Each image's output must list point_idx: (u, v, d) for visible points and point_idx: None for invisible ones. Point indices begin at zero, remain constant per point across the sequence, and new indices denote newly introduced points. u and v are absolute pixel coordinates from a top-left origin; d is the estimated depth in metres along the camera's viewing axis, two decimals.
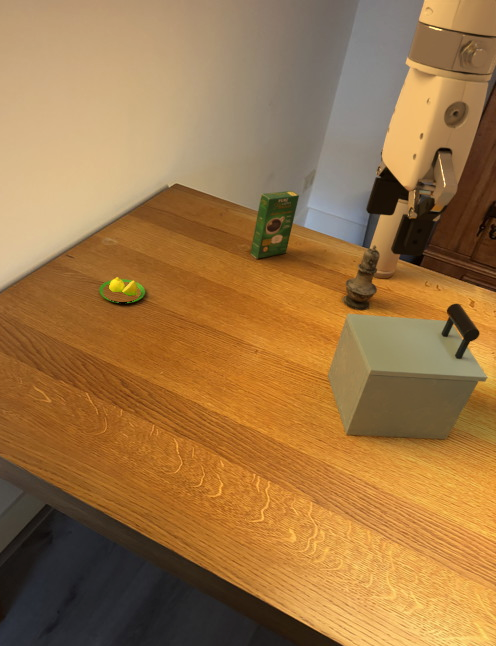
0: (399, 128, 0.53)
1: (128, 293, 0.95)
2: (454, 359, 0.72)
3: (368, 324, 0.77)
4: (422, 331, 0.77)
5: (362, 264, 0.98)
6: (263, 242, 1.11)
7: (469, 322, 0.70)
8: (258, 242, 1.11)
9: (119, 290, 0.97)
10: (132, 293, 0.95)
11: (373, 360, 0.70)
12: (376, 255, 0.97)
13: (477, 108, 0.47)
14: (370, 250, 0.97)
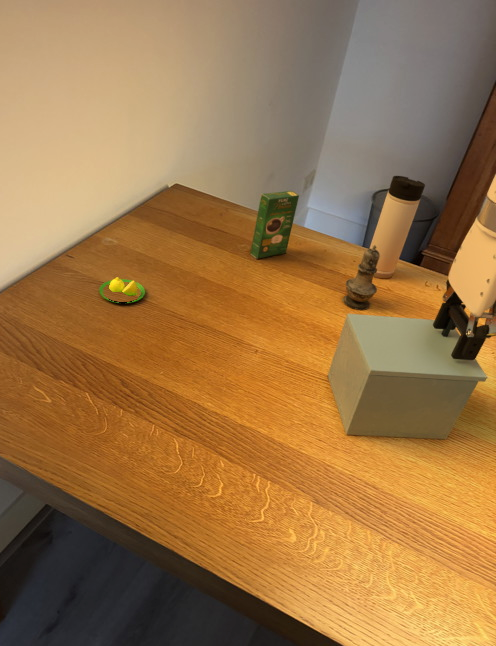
0: (467, 266, 0.68)
1: (128, 293, 0.95)
2: (454, 359, 0.72)
3: (368, 324, 0.77)
4: (422, 331, 0.77)
5: (362, 264, 0.98)
6: (263, 242, 1.11)
7: None
8: (258, 242, 1.11)
9: (119, 290, 0.97)
10: (132, 293, 0.95)
11: (373, 360, 0.70)
12: (376, 255, 0.97)
13: None
14: (370, 250, 0.97)
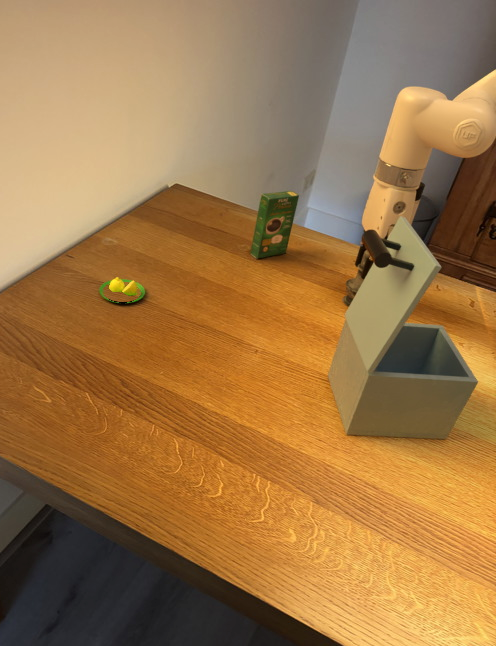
0: (370, 210, 0.93)
1: (128, 293, 0.95)
2: (410, 274, 0.64)
3: (356, 310, 0.75)
4: None
5: (362, 264, 0.98)
6: (263, 242, 1.11)
7: (371, 253, 0.63)
8: (258, 242, 1.11)
9: (119, 290, 0.97)
10: (132, 293, 0.95)
11: (366, 356, 0.70)
12: None
13: (410, 204, 0.87)
14: None
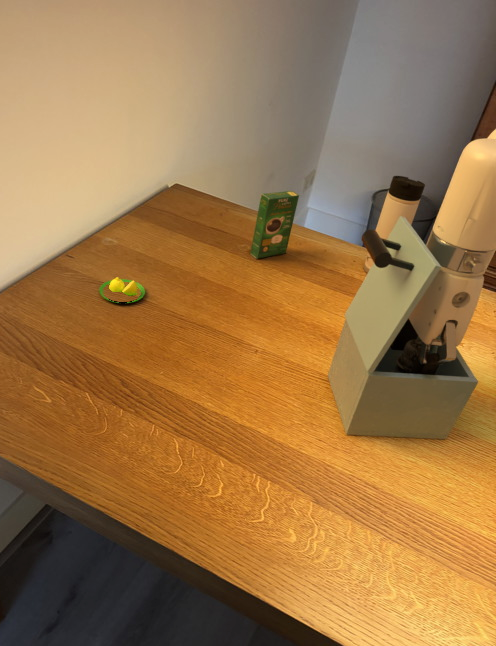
0: None
1: (128, 293, 0.95)
2: (410, 274, 0.64)
3: (356, 310, 0.75)
4: None
5: (403, 359, 0.75)
6: (263, 242, 1.11)
7: (371, 253, 0.63)
8: (258, 242, 1.11)
9: (119, 290, 0.97)
10: (132, 293, 0.95)
11: (366, 356, 0.70)
12: None
13: (476, 295, 0.64)
14: (414, 343, 0.74)
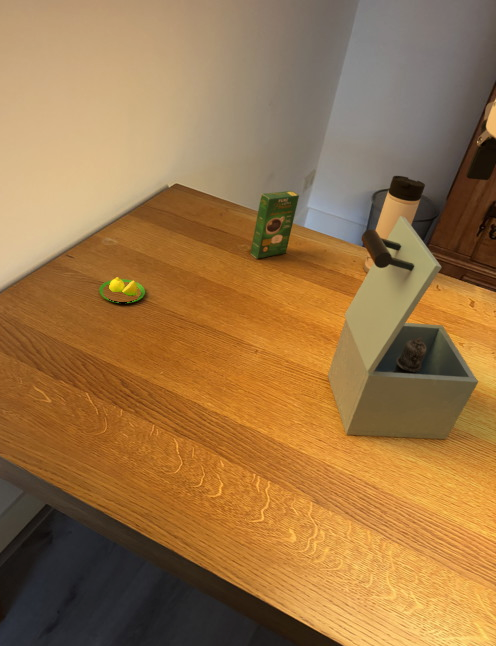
0: None
1: (128, 293, 0.95)
2: (410, 274, 0.64)
3: (356, 310, 0.75)
4: None
5: (403, 359, 0.75)
6: (263, 242, 1.11)
7: (371, 253, 0.63)
8: (258, 242, 1.11)
9: (119, 290, 0.97)
10: (132, 293, 0.95)
11: (366, 356, 0.70)
12: (422, 350, 0.74)
13: None
14: (414, 343, 0.74)
